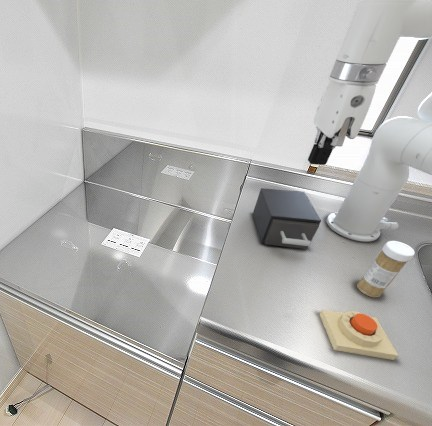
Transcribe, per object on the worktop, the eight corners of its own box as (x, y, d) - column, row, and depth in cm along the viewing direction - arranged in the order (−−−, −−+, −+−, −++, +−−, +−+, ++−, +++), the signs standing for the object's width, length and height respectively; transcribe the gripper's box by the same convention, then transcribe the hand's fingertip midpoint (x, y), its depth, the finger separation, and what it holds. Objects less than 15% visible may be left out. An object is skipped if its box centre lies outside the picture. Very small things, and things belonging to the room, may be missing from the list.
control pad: (372, 322, 61) (381, 312, 59) (393, 360, 54) (404, 350, 52) (319, 314, 62) (326, 304, 60) (333, 350, 56) (342, 340, 54)
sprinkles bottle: (383, 292, 67) (419, 249, 59) (374, 301, 65) (410, 258, 57) (361, 279, 70) (392, 236, 62) (352, 288, 68) (382, 245, 60)
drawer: (312, 260, 74) (325, 237, 69) (268, 255, 75) (277, 232, 71) (293, 220, 87) (303, 198, 82) (256, 216, 89) (263, 195, 84)
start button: (367, 320, 58) (371, 315, 57) (376, 337, 55) (381, 331, 54) (347, 317, 58) (351, 312, 57) (355, 333, 55) (359, 328, 54)
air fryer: (307, 248, 78) (321, 220, 73) (260, 243, 80) (271, 215, 75) (292, 218, 89) (304, 191, 83) (252, 214, 91) (260, 188, 85)
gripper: (403, 82, 47) (350, 181, 58) (360, 64, 59) (322, 149, 70) (350, 81, 48) (308, 178, 59) (318, 64, 60) (288, 147, 71)
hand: (316, 162), depth 64 cm, fingers closed
